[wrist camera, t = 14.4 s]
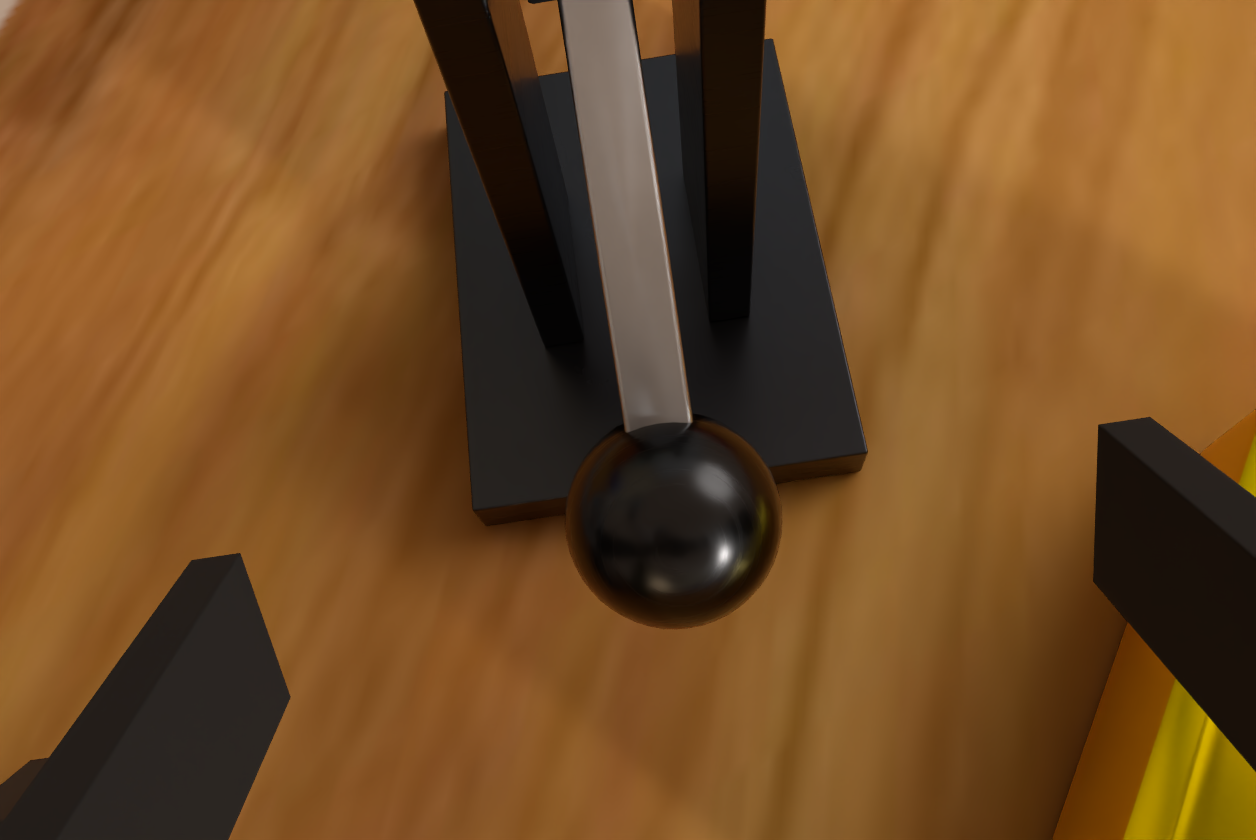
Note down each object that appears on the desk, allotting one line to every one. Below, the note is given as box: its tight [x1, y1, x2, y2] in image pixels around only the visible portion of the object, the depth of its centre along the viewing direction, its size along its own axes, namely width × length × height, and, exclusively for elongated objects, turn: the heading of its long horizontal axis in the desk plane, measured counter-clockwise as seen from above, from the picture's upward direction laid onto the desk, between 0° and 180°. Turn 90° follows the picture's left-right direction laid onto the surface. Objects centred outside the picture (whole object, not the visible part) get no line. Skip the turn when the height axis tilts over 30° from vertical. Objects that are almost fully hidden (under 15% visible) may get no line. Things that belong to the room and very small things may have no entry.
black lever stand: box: [414, 0, 868, 526], centre depth 20 cm, size 12×9×14 cm
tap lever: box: [528, 0, 782, 629], centre depth 16 cm, size 13×4×4 cm
